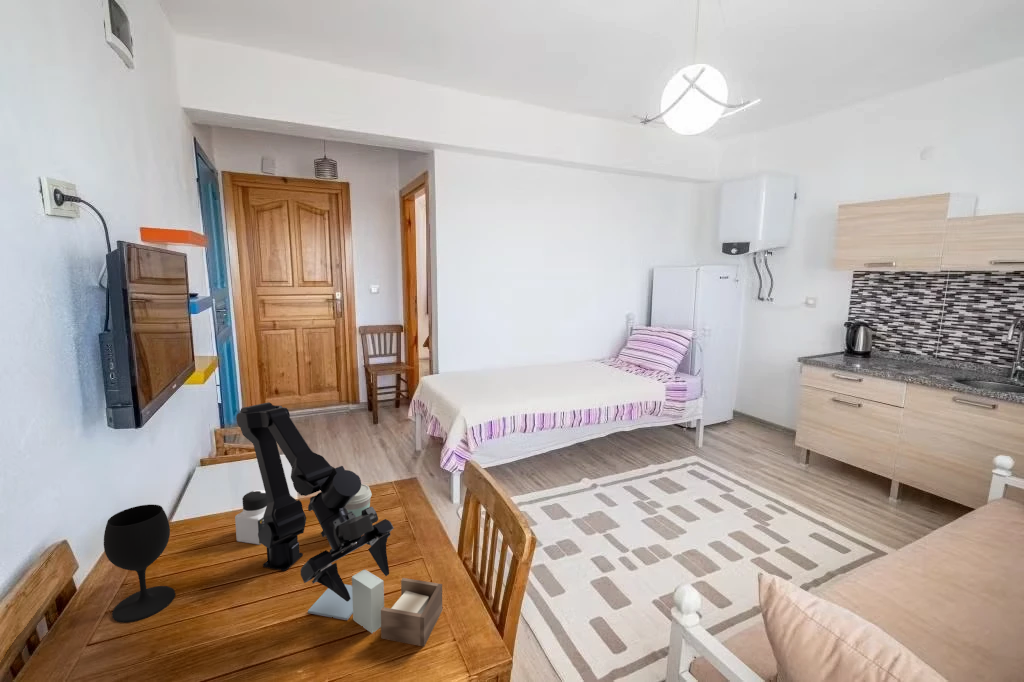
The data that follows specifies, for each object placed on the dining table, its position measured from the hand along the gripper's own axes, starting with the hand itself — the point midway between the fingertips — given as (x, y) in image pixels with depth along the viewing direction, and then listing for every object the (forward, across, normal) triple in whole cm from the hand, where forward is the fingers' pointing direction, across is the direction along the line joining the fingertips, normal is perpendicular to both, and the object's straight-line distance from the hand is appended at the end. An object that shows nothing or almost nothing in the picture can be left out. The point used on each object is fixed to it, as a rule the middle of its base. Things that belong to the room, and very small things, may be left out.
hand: (369, 587), depth 89 cm
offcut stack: (+10, +5, +1) cm, 11 cm away
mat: (-2, 0, +13) cm, 13 cm away
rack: (+10, +5, +1) cm, 11 cm away
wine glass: (-24, -25, +35) cm, 49 cm away
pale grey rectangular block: (+5, 0, +6) cm, 8 cm away
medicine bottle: (-29, +2, +40) cm, 50 cm away
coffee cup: (-16, +19, +27) cm, 37 cm away
